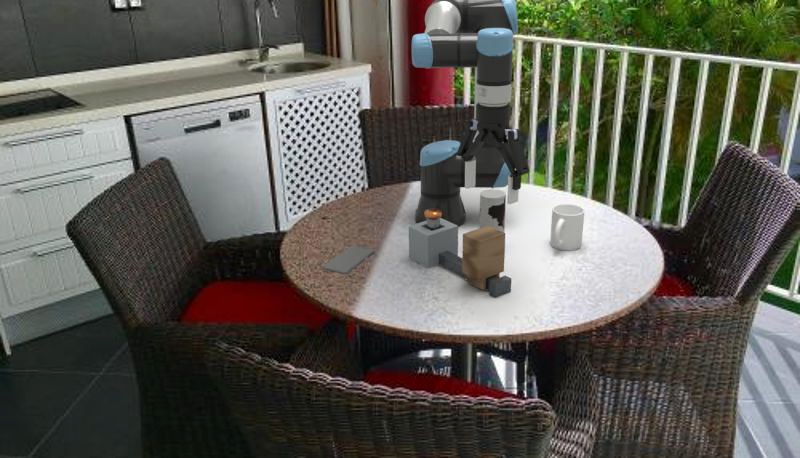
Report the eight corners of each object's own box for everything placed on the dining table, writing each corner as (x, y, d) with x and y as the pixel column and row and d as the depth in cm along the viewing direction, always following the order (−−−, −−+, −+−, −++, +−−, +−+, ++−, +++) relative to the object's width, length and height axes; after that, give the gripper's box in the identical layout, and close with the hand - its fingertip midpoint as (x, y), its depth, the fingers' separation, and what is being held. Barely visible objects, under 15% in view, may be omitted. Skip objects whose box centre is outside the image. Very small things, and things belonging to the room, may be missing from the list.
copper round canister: (421, 236, 177) (421, 211, 174) (434, 231, 179) (434, 207, 177) (432, 241, 174) (431, 216, 171) (445, 237, 176) (445, 212, 173)
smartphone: (320, 267, 175) (352, 244, 187) (321, 270, 175) (352, 247, 187) (345, 273, 171) (375, 249, 183) (345, 276, 172) (376, 252, 184)
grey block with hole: (409, 257, 179) (408, 226, 176) (438, 247, 185) (438, 216, 181) (428, 268, 173) (427, 235, 170) (457, 257, 179) (458, 225, 175)
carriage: (462, 282, 165) (462, 234, 160) (486, 273, 169) (487, 225, 164) (478, 292, 160) (480, 242, 155) (503, 282, 165) (505, 233, 159)
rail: (435, 265, 175) (435, 253, 173) (450, 260, 177) (450, 247, 176) (495, 298, 158) (495, 284, 157) (510, 291, 161) (511, 278, 160)
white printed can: (508, 248, 183) (510, 195, 177) (485, 252, 181) (487, 199, 175) (496, 238, 189) (498, 187, 183) (474, 242, 187) (475, 191, 181)
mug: (569, 259, 176) (572, 222, 172) (539, 251, 181) (541, 215, 177) (586, 242, 185) (589, 207, 181) (557, 236, 190) (559, 201, 186)
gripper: (442, 96, 155) (442, 184, 163) (524, 115, 137) (520, 213, 145) (466, 91, 159) (465, 178, 167) (549, 109, 141) (543, 205, 149)
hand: (490, 194), depth 156 cm, fingers open, 13 cm apart
